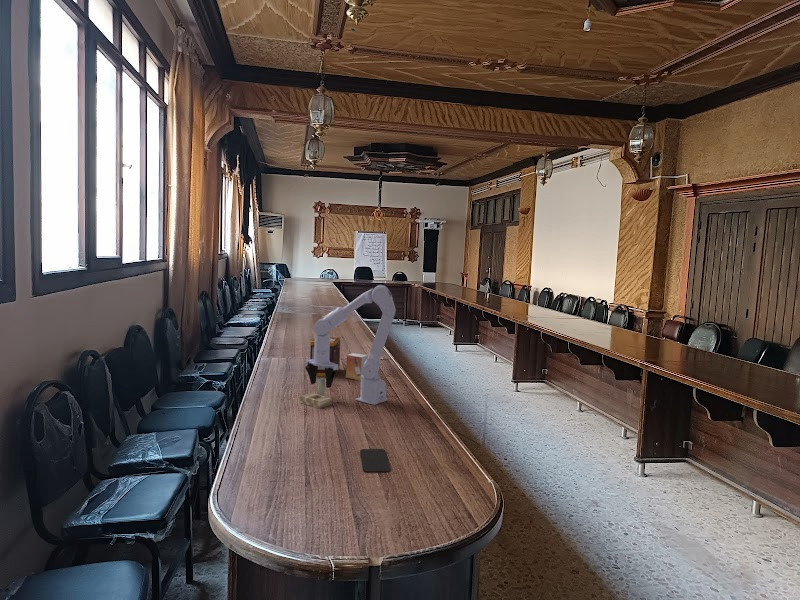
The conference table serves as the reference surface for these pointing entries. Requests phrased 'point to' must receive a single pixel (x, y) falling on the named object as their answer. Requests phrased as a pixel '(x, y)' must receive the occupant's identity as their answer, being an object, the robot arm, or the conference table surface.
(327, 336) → the robot arm
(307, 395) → the hole plate
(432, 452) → the conference table surface
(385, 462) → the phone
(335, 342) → the supplement box
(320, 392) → the long pin
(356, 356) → the small box
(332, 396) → the short pin
